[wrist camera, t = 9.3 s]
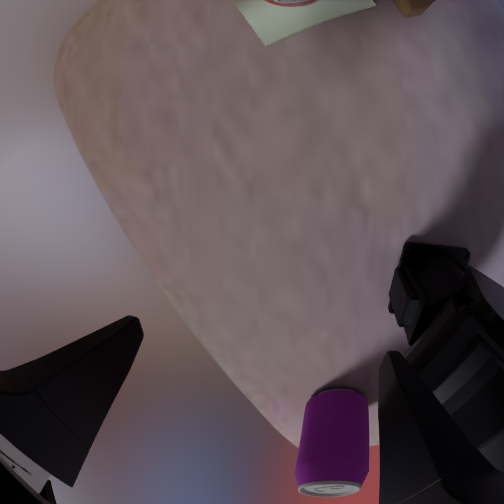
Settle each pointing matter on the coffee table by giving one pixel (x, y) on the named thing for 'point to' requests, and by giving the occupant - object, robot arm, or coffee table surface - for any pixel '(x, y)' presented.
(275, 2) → the pill bottle
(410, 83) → the coffee table surface
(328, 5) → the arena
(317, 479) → the beverage can
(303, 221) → the coffee table surface
